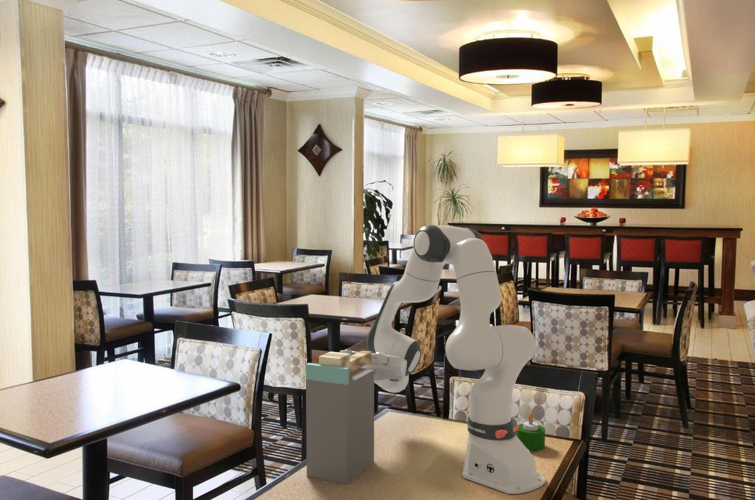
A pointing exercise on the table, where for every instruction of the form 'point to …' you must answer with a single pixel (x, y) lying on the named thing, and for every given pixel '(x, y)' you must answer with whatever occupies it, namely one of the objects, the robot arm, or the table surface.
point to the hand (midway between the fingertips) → (361, 353)
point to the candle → (531, 435)
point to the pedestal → (339, 422)
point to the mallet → (346, 360)
